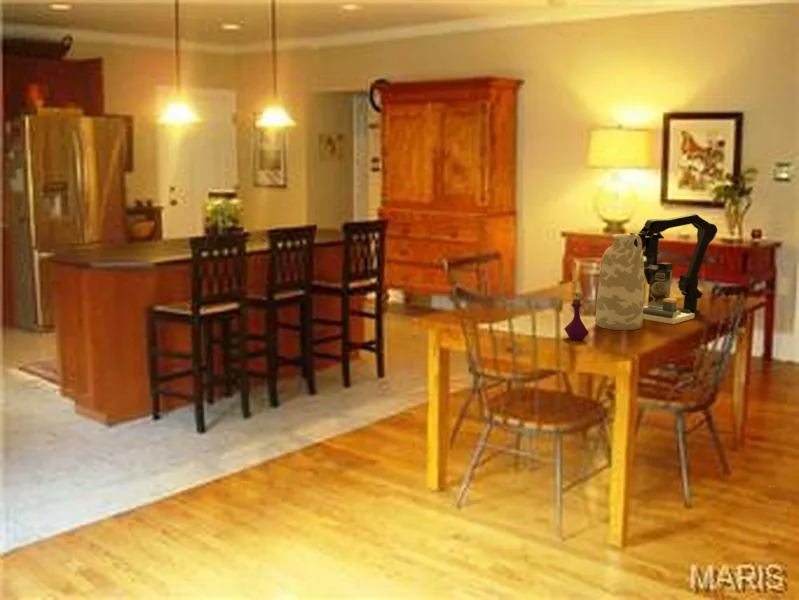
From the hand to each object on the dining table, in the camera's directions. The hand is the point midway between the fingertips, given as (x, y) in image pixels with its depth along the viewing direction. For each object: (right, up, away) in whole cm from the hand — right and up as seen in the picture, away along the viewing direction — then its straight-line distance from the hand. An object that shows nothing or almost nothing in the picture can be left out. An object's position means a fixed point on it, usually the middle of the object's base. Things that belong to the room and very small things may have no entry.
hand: (649, 284), depth 400 cm
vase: (-20, -18, -28) cm, 39 cm away
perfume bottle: (-42, -22, -52) cm, 71 cm away
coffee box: (+10, -9, +19) cm, 23 cm away
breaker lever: (+5, -12, -13) cm, 18 cm away
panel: (+2, -14, -9) cm, 17 cm away
